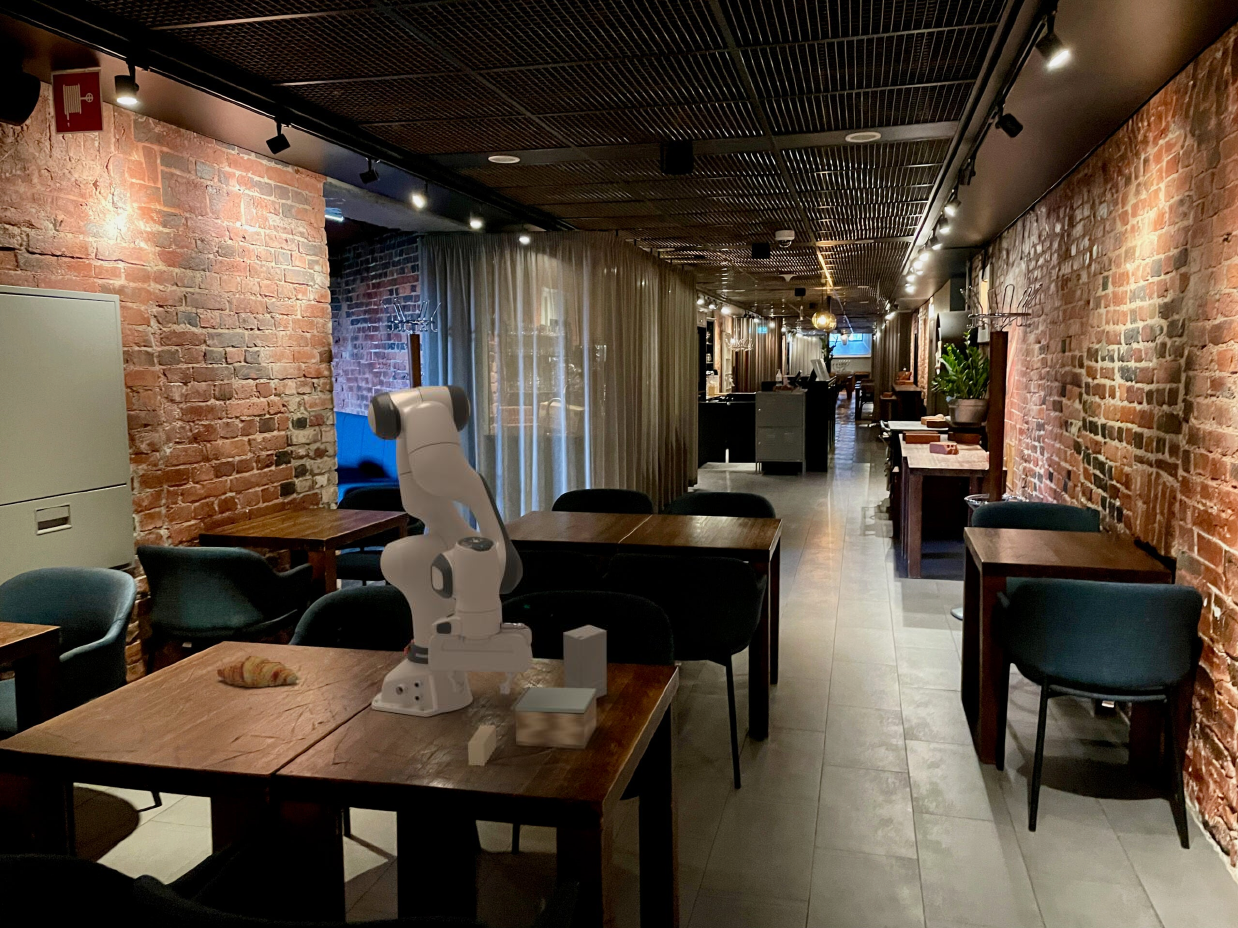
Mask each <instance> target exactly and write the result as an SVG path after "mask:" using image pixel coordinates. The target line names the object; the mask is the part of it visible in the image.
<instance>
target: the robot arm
mask: <svg viewBox="0 0 1238 928" xmlns="http://www.w3.org/2000/svg"><path fill="white" fill-rule="evenodd" d="M470 416H471V403H470V401H469V398H468V396H467V394H466V391H465V390H464V388H462V387H461V386H458V385H454V384H453V385H452V384H445V385H442V386H441V385H425V386H416V387H413V388H406V389H401V390H400V389H399V390H396V391H391V392H389V391H385V392H384V391H383V392H381V393H378V394H375V395H373V397H372V398H371V400H370V401H369V406H368V410H367V420H368V424H369V427H370V429H371V431H372V432H373V434H374V436H375V437H376V438H378V439H380V440H384V441H393V442H394V441H396V444H395V445H396V447H395V448H396V449H395V450H396V451H395V453H396V454H395V455H396V458H395V460H396V461H395V462H396V470H397V477H398V482H399V483H398V484H399V490H400V496H401V503H402V507H403V509H404V510H405V512H406V513H407V514H408V515H409V516H412V517H413V518H416V519H419V520H420V521H422V523H423V524H424V525H425V526H426V528H427V531H428V533H426V534H425V533H424V534H416V535H411V536H410V535H409V536H405V537H403V538H400V539H396V540H393V541H392V542H389V543H387V544H386V546H385V547H384V548H383V550H382V552H381V556H380V569H381V573H382V575H383V577H384V578H385V579H386V581H387V582H388V583H390V584H391V585H392V586H393V587H395V588H397V589H398V590H399V591H400V592H401V593H402V594H403V596H404V597H405V599H406V600H407V602H408V605H409V607H410V610H411V611H410V612H411V615H412V618H411V619H412V628H413V639H411V641H410V643H408V644H407V645H406V647H405V648H404V649H403V650H404V651H403V654H406V658H405V659H404V660H403V661H401V662H400V663H399V664H398V665H397V666H395V667H394V668H393V669H392V670H391V671H389V672H388V673H387V674H386V675H385V677H384V679H383V682H382V685H381V686H382V687H381V692H379V693H378V694H377V695H376V696H375V697H374V698H373V699H372V701H371V709H372V710H374V711H375V710H376V711H383V712H389V713H390V712H391V713H397V714H404V715H410V716H418V717H426V718H427V717H431V716H435V715H439V714H441V713H447V712H453V711H457V710H460V709H463V708H465V707H466V706H468V705H470V704H471V703H472V702H473V700H474V697H473V694H472V692H471V689H470V683H469V680H468V675H467V672H491V673H493V672H494V673H496V672H497V673H504V677H505V678H507V679H506V681H505V682H501V684H500V685H499V689H500V691H499V693H500V695H509V694H510V692H511V683H512V680H513V679H514V677H515V675H516V673H526V672H527V671H529V670H530V669H531V668H532V666H533V664H534V661H533V660H534V659H533V658H534V657H533V652H532V651H533V650H532V647H531V646H532V645H531V644H532V641H533V639H532V638H533V636H532V630H531V628H530V627H529V626H527V625H525V623H523V622H517V623H513V622H512V623H511V622H503V613H502V612H503V611H502V607H503V606H502V601H501V599H500V595H501V594H502V595H504V594H505V595H506V594H509V593H511V592H512V591H513V590H515V588H516V587H517V585H518V584H520V581H521V579H522V577H523V574H524V573H523V571H524V567H523V563H522V560H521V558H520V555H519V553H518V551H517V549H516V548H515V546H514V544H513V542H512V540H511V538H510V536H509V534H508V531H507V529H506V525H505V523H504V520H503V518H502V516H501V513H500V511H499V508H498V505H497V503H496V501H495V500H496V499H495V498H494V496H493V494H492V491H491V488H490V486H489V484H488V482H487V480H486V478H485V477H484V476H483V474H482V473H479V472H478V471H476V470H475V469H474V468H473V467H472V466H471V464H470V463H469V461H468V460H467V458H466V456H465V454H464V452H463V447H462V443H461V442H462V441H461V439H460V434H459V432H461V431H463V430H464V428H465V427H466V426H468V424H469V422H470ZM455 502H458V503H459V504H461V505H464V506H465V507H467V508H468V509H469V510H470V511H471V512H472V514H473V516H474V518H475V520H476V523H477V526H478V528H479V530H480V531H478V530H477V529H474V528H473V527H472V526H470V524H469V523H468V522H467V521H466V520H465V519H464V518H463V516H462V515H461V513H460V512H459V509H458V507H457V505H456V503H455Z"/></svg>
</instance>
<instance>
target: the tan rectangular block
mask: <svg viewBox="0 0 1238 928" xmlns="http://www.w3.org/2000/svg"><path fill="white" fill-rule="evenodd" d="M496 726H497V725H485V724H483V725H482V724H481V725H480V726H479V728H478V729H477V730H476V731H475V733H474V734H473V736H472V737H471V738H470V740H469V741H468V742H467V752H468V754H467V755H468V766H476V765H478V767H479V765H480V767H485V765H486V764H487V762H488V761H487V760H489V759H490V757H491V756H492V755H493V753H494V752H495V750H496V748H497V727H496ZM492 752H493V753H492ZM490 755H491V756H490ZM485 763H486V764H485Z"/></svg>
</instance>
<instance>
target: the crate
mask: <svg viewBox="0 0 1238 928" xmlns="http://www.w3.org/2000/svg"><path fill="white" fill-rule="evenodd" d="M514 711H515V710H514ZM597 724H598V723H597V698H596V694H595V695H594V697H593V698H592V700H591V702H590V703H589V705H588V707H587V708H586V710H585V712H584V713H567V712H536V711H515V743H516V746H529V747H533V746H534V747H545V748H546V747H548V748H562V749H576V750H577V749H579V750H581V749H582V750H585V749H586V747H587V745H588V744H589V741H590V739H591V737H592V735H593V734H594V732H595V730H596V728H597V727H598V725H597Z"/></svg>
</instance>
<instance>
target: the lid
mask: <svg viewBox="0 0 1238 928" xmlns="http://www.w3.org/2000/svg"><path fill="white" fill-rule="evenodd" d="M595 693H596V689H590V688H564V687H548V686H546V687H544V686H543V687H541V686H527V687H525V689H524V690H523V691H522V692H521V694H520V695H519V696H518V698H517V699H516V700H515V702H514V703H513V704H512V705H511V706H510V707H509V708H510V710H511V711H512V712H513V711H536V712H567V713H584V712H585V710H586V708H587V707H588V705H589V703H590V702H591V700H592V698H593V697H594V695H595Z"/></svg>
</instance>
